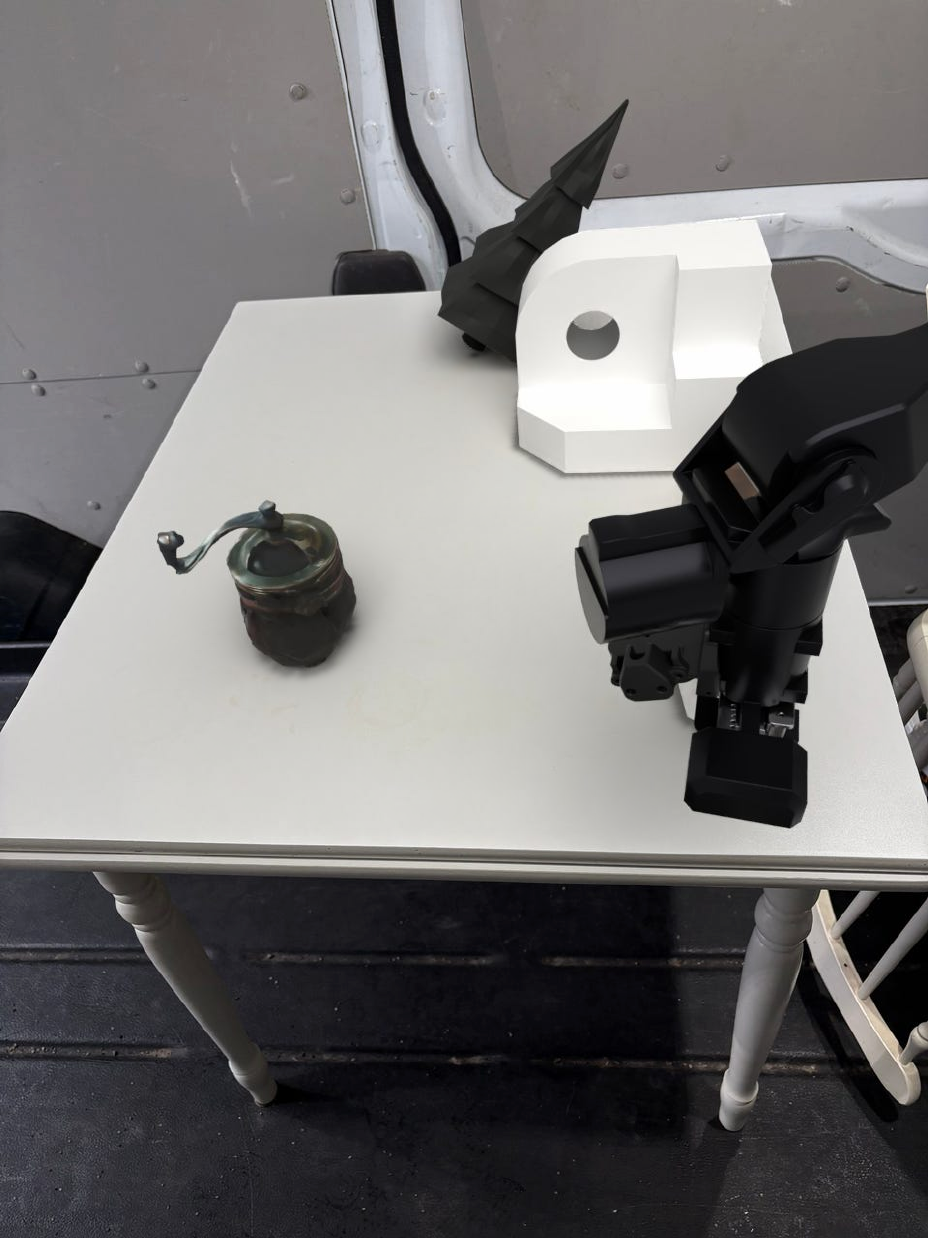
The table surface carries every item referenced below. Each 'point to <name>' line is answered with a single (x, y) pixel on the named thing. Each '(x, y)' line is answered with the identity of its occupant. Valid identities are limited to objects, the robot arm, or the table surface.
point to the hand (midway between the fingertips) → (733, 757)
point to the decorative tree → (523, 246)
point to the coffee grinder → (282, 581)
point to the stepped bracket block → (637, 342)
